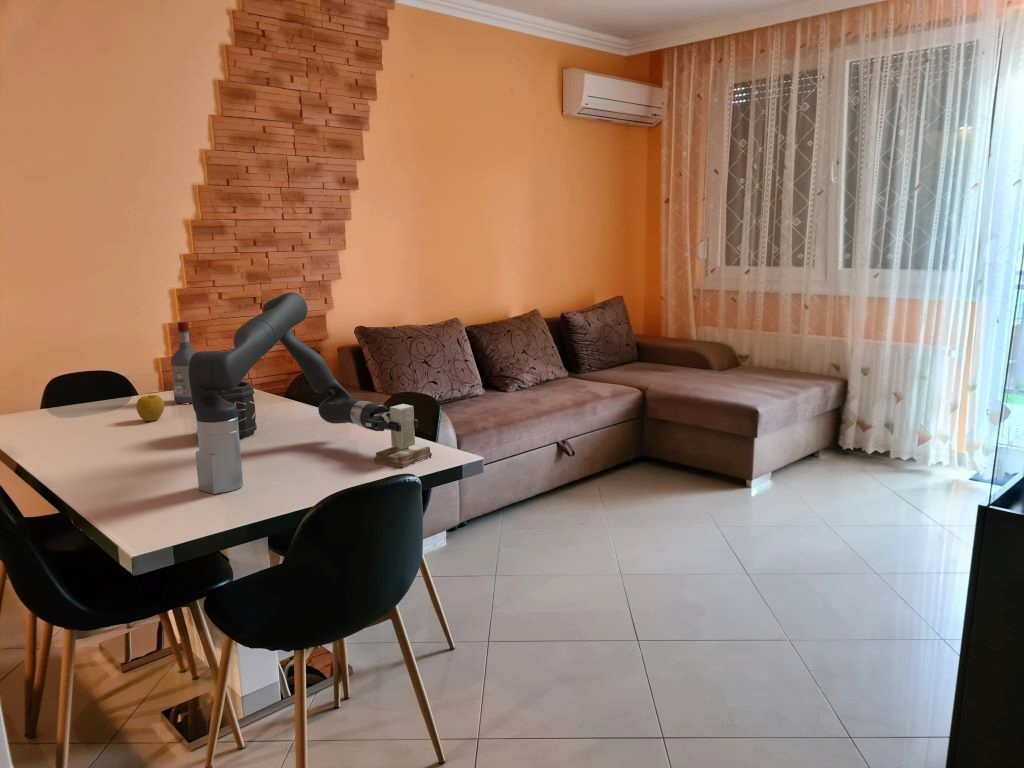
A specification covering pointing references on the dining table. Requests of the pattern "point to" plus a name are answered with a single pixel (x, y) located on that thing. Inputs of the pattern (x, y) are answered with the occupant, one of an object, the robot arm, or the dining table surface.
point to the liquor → (182, 366)
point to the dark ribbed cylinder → (242, 407)
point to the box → (403, 426)
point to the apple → (150, 407)
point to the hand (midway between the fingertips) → (408, 425)
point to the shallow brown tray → (402, 456)
